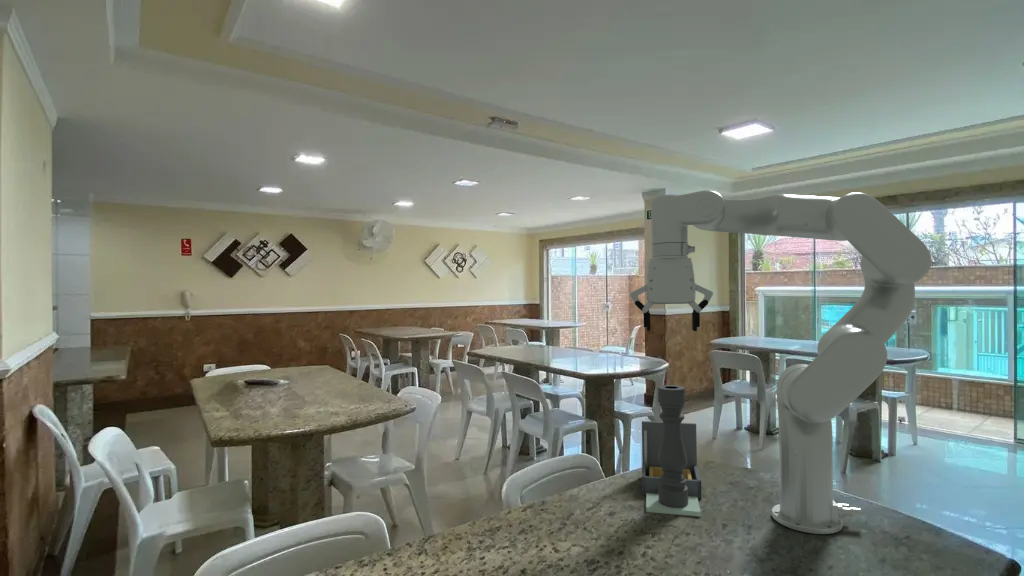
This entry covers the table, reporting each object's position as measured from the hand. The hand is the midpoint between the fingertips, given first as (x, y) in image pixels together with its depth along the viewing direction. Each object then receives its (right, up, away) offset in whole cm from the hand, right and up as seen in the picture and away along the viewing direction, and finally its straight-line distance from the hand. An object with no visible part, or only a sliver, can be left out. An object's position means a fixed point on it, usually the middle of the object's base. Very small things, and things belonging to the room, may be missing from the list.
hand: (671, 330), depth 116 cm
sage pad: (0, -38, 0) cm, 38 cm away
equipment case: (+3, -38, +11) cm, 40 cm away
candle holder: (0, -38, 0) cm, 38 cm away
